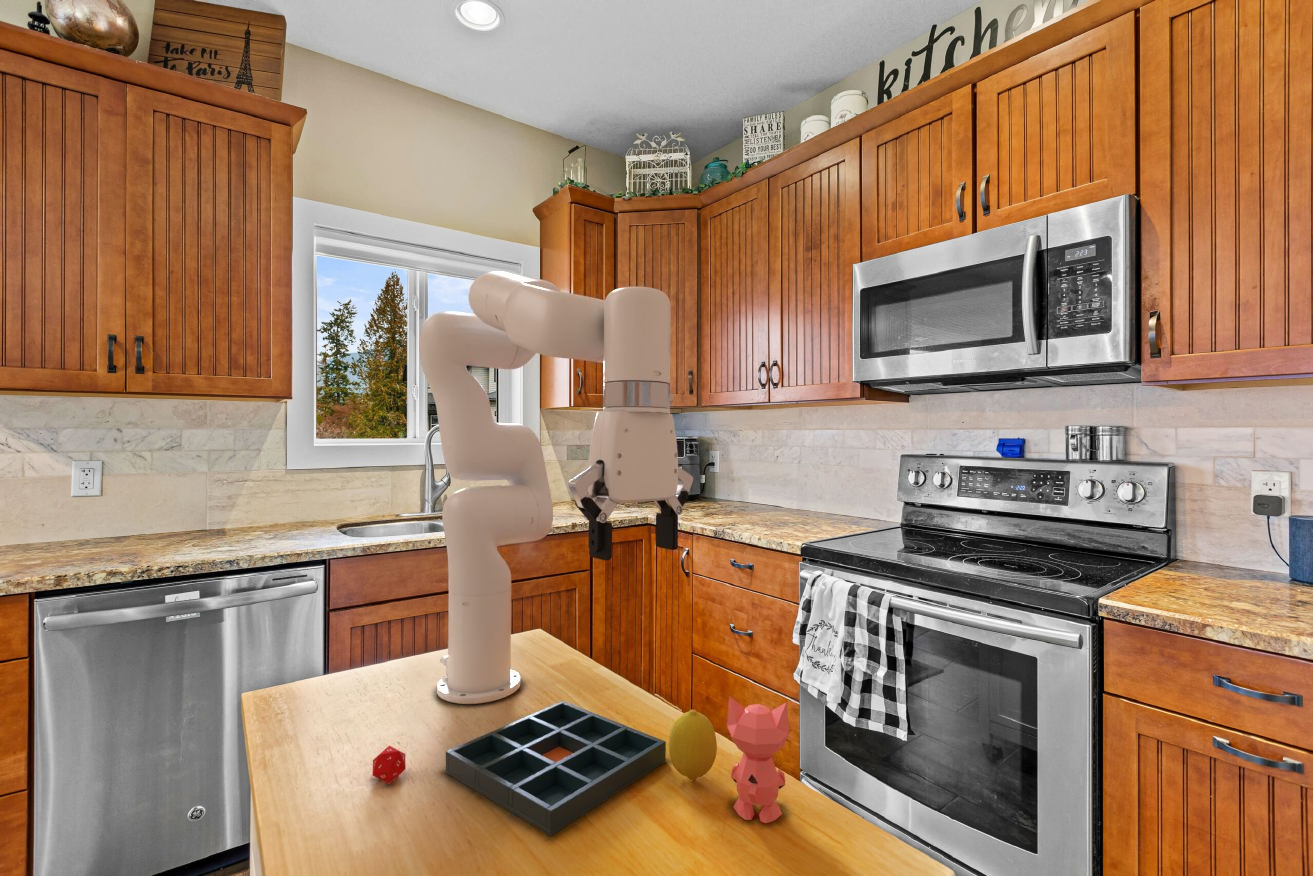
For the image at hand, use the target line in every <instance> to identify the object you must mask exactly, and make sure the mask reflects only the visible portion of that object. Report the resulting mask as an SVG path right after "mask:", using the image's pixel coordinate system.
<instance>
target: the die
mask: <svg viewBox="0 0 1313 876" xmlns="http://www.w3.org/2000/svg"><path fill="white" fill-rule="evenodd" d="M405 770H406V753H405V752H403V751H401V750H399V749H397V748H396V747H393V746H391V745H388V746H387V747H386V748H384V750H382V751H381V752H380V753H379V754H378V755H377V756H375V757H374V758H373V759H372V774H371V776H372V777H375V778H376V779H379V780H380V781H381V782H384V783H386V784H389V785H390V784H391V783H392V782H393V781H394V780H396V778H398V777H399V776H400V775H401V774H402V773H403V772H404V771H405Z"/></svg>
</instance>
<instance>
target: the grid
mask: <svg viewBox="0 0 1313 876" xmlns="http://www.w3.org/2000/svg"><path fill="white" fill-rule="evenodd" d="M666 753H667V741H666V740H663V739H661V738H658V737H656V736H654V735H650V734H648V733H647V732H646V733H645V732H643V731H640V730H638V729H635V728H633V727H630V726H628V725H625V724H623V723H620V722H618V721H615V720H613V719H611V718H608V717H605V716H603V715H600V714H597V713H594V712H593V711H590V710H587V709H585V708H582V707H579V706H577V705H575V704H572V703H570V702H568V701H567V702H566V701H565V700H560V701H559V702H557V703H555V704H552V705H550V706H547V707H544V708H543V709H541V710H538V711H536V712H533V713H531V714H528V715H526V716H524V717H522V718H520V719H518V720H515V721H512V722H511V723H508V724H505V725H503V726H501V727H498V728H497V729H494V730H492V731H490V732H486V733H485V734H482V735H480V736H478V737H476V738H473V739H470V740H469V741H466V742H464V743H462V744H460V745H457V746H455V747H453V748H451V749H448V750H446V751H445V769H444V770H445V771H444V772H445V773H446V774H447V775H449V776H450V777H452V778H454V779H455V780H457V781H458V782H460V783H461V784H464V785H465V786H466V787H469V788H470V789H472V790H473V791H475V792H477V793H478V794H480V795H481V796H482V797H485V798H486V799H488V800H490V801H491V802H493V803H494V804H496V805H498V806H499V807H501V808H502V809H504V810H506V811H507V812H509V813H510V814H513V815H514V816H516V817H517V818H519V819H521V820H523V821H525V822H526V823H527V824H529V825H531V826H532V827H534V828H535V829H537V830H539V831H541V832H542V833H544V834H546V835H547V836H549V837H552V836H554V835H556V834H557V833H559V832H561V831H562V830H563V829H565V828H566V827H568V826H569V825H571V824H572V823H574V822H576V821H577V820H579V819H580V818H582V817H583V816H585V815H586V814H588V813H589V812H591V811H592V810H594V809H596V808H597V807H599V806H600V805H601V804H603V803H605V802H606V801H608V800H610V799H611V798H612V797H614V796H615V795H617V794H619V793H620V792H621V791H623V790H625V789H626V788H628V787H629V786H630V785H632V784H634V783H635V782H637V781H638V780H640V779H642V778H644V776H646V775H648V774H649V773H651V772H652V771H654V770H655V769H657V768H659V767H660V766H662V765H663V764H664V763H666V762H667V754H666Z"/></svg>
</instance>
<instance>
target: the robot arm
mask: <svg viewBox="0 0 1313 876" xmlns="http://www.w3.org/2000/svg"><path fill="white" fill-rule="evenodd" d="M467 296H468V303H469V304H468V305H469V306H470V309H471V311H472V313H471V312H462V311H440V312H437V313H434V314H432V315H429V316H428V317H427V318H426V319H425V321H424V322H423V324H422V326H421V329H420V334H419V340H418V341H419V342H418V344H419V345H418V352H419V359H420V364H421V369H422V372H423V375H424V378H425V380H426V382H427V385H428V387H429V389H430V391H431V394H432V398H433V400H434V403H435V407H436V414H437V423H438V428H439V429H438V430H439V437H440V442H441V443H440V444H441V449H442V454H443V455H442V456H443V461H444V465H445V469H446V470H447V473H448V474H449V476H451V478H453V479H456V480H459V481H473V482H475V481H476V482H477V481H480V482H481V481H507V482H508V485H481V486H469V487H464V488H461V489H459V490H456V491H454V492H452V493H451V494H450V495H449V496H448V497H447V498H446V500H445V502H444V503H443V506H442V511H441V512H442V514H441V518H442V527H443V533H444V538H445V545H446V552H447V574H448V576H447V577H448V583H447V585H448V586H447V587H448V601H447V602H448V603H447V604H448V605H447V606H448V610H447V611H448V613H447V614H448V615H447V617H448V619H447V623H448V624H447V631H448V632H447V655H443V656H442V657H441V658H440V659H439V664H440V665H442V666H444V667H445V676H443V677H442V678H441V679H439V681H438V682H437V684H436V694H437V696H438V697H439V698H440V699H442V700H444V701H446V702H448V703H454V704H458V705H459V704H461V705H477V704H484V703H485V704H486V703H490V702H491V703H492V702H494V701H498V700H502V699H504V698H507V697H509V696H511V695H512V694H514V693H516V692H517V690H519V688H520V687H521V679H522V678H521V675H520V674H519V672H517V671H516V670H513V669H512V574H511V570H510V567H509V565H508V563H507V562H506V561H505V559H504V558H503V557H502V555H501V554H500V552H499V550H498V547H501V546H506V545H515V544H522V543H523V544H524V543H530V542H536V541H540V540H542V539H543V538H545V537H546V536H547V535H548V534H549V533H550V531H551V529H552V526H553V522H554V507H553V501H552V495H551V489H550V484H549V478H548V472H547V467H546V462H545V457H544V452H543V448H542V444H541V441H540V439H539V437H538V436H537V435H536V433H535V432H534V431H533V429H531V427H529V426H526V425H524V424H519V423H505V422H504V423H503V422H501V423H500V422H497V421H496V420H495V419H494V417H493V414H492V410H491V409H492V408H491V403H490V398H489V394H488V393H487V392H486V391H487V390H486V389H485V388H484V387H483V385H482V384H481V383H480V381H479V380H478V379H477V378H476V377H475V375H473V374H472V373H471V372H470V371H469V370H468V368H467V366H468V367H469V366H470V367H477V368H478V367H479V368H488V369H489V368H490V369H501V370H517V369H520V368H522V367H523V366H525V365H526V364H528V363H529V362H530V361H531V360H532V359H533V358H534V356H535V355H536V354H539V355H541V356H546V357H551V358H559V359H569V360H577V361H586V362H587V361H588V362H592V363H601V364H603V367H602V369H603V371H602V372H603V373H602V374H603V380H602V381H603V384H602V396H603V398H602V411H597V412H596V415H595V419H594V424H593V426H592V432H591V438H590V446H589V455H588V463H587V464H588V465H587V469H586V470H584V471H582V472H581V473H579V474H578V475H576V476H575V477H573V478H572V479H570V480H569V481H568V489H569V491H570V493H571V496H572V498H573V499H574V504H575V506H576V508H577V509H578V510H579V511H580V513H581V514H582V515H583V518H584V520H586V521H588V551H589V552H588V554H589V556H590V558H593V559H597V560H601V561H610V560H611V559H612V558H613V524H612V522H611V521H608V520H609V518H610V517H611V515H612V514H613V511H614V510H615V508H616V507H617V505H618V504H633V503H648V502H654V504H655V505H656V507H657V509H658V510H659V511H660V512H656V514H655V546H656V547H657V548H661V549H665V550H671V551H676V550H678V547H679V516H680V515H682V514H683V510H684V509H683V508H684V506H685V504H686V502H687V501H688V499H689V493H690V491H691V488H692V485H693V483H694V476H692V475H691V473H688V472H687V471H686V470H684V469H683V468H681V467H680V466H679V457H678V456H679V453H678V443H677V433H676V427H675V420H674V416H673V413H671V405H672V404H673V403H674V400H675V397H674V395H673V393H671V348H672V347H671V340H672V339H671V337H672V336H671V335H672V334H671V333H672V327H671V326H672V305H671V300H670V298H669V296H668V294H666V293H665V292H664V291H662V290H660V289H657V288H653V287H648V286H624V287H619V288H616V289H614V290H612V291H610V292H609V293H608V294H607V296H606V297H605V299H600V298H596V297H591V296H586V295H582V294H576V293H570V292H567V291H561V290H560V288H559V287H558V286H557V285H555V284H554V283H552V282H550V281H548V280H546V279H541V278H536V277H532V276H526V275H523V274H518V273H512V272H508V271H504V270H503V271H502V270H501V271H500V270H494V271H493V270H492V271H488V272H485V273H483V274H481V275H479V276H477V278H475V279H474V280H473V282H472V284H471V285H470V287H469V291H468V295H467Z"/></svg>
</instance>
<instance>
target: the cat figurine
mask: <svg viewBox="0 0 1313 876" xmlns="http://www.w3.org/2000/svg"><path fill="white" fill-rule="evenodd" d="M789 725H790V724H789V714H788V703H787V701H786V702H784V703H783V704H781V705H779V706H777V707H775V708H774V709H772V710H771V709H770V708H769V707H768V706H767V705H763V704H760V703H756V704H749V705H747V706H746V707H744V706H743V705H742V704H740V703H739V702H738V701H736V699H734V698H733V697H732V696H730V695H729V697H728V709H727V722H726V728H727V731H728V732H729V733H728V734H727V736H730V738H731V740H732V742H733V743H734V744H735V746H736V748H737V749H738V750H739V751H741V753H742V756H741V759H740V761H739V762H737V763H736V764H734V765H733V766H732V770H731V775H730V778H731V779H732V780H733V781H734V782H735V783H736V792H737V795H738V798H737V799H736V800H735V803H733V808H734V810H735V812H736V813H737V814H738V816H739V817H740V818H742V819H743V820H745V821H752V820H753V818H754V816H755V815H756V814H755V810H754V807H753V805H754V806H762V808H761V810H760V812H759V814H758V816H759V821H760V822H761V823H764V824H769V823H772V822H775V821H776V820H777V819H779V817H781V816H782V815H783V812H782V809H781V807H780V805H779V803H778V802H776V800H777V798H778V797H779V790H780V789H782V788H783V787H784V786H786V777H785V773H784V771H782V770H781V769H780V768H778V769H777V768H776V765H775V762H774V759H773V755H775V754H776V753H777V752H778V751H780V749H782V748H783V747H784V745H785V743H786V741H787V742H789V743H791V741H790V740H789V739H788V737H789V735H790V732H791V731H792V730H790V726H789Z"/></svg>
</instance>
